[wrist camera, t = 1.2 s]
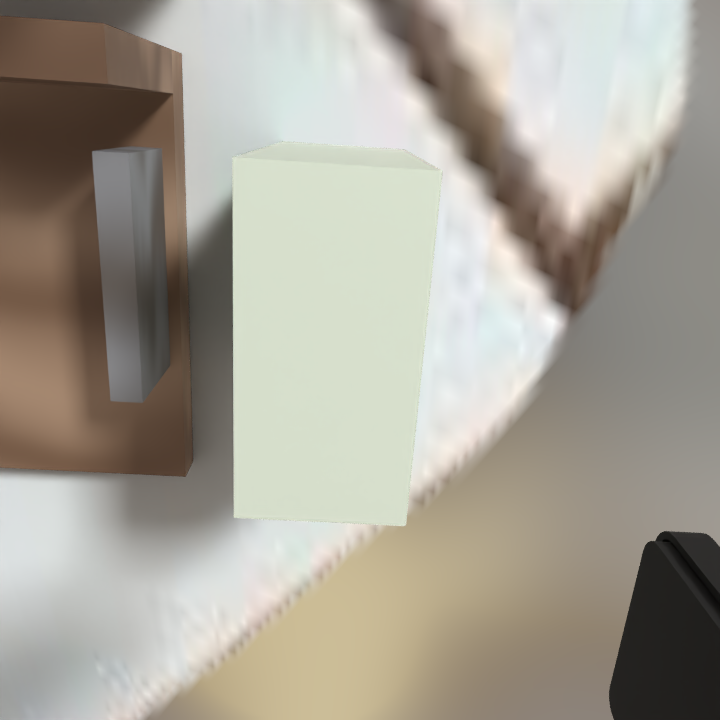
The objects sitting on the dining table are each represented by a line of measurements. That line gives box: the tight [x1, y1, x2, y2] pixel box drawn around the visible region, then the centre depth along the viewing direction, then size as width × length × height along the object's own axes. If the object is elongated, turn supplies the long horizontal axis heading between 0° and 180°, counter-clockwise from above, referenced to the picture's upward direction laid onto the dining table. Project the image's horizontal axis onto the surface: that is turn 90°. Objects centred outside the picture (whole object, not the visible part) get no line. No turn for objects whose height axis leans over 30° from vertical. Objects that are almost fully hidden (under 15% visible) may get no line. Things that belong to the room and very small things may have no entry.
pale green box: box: [232, 141, 443, 526], centre depth 23 cm, size 10×5×12 cm, turn 176°
